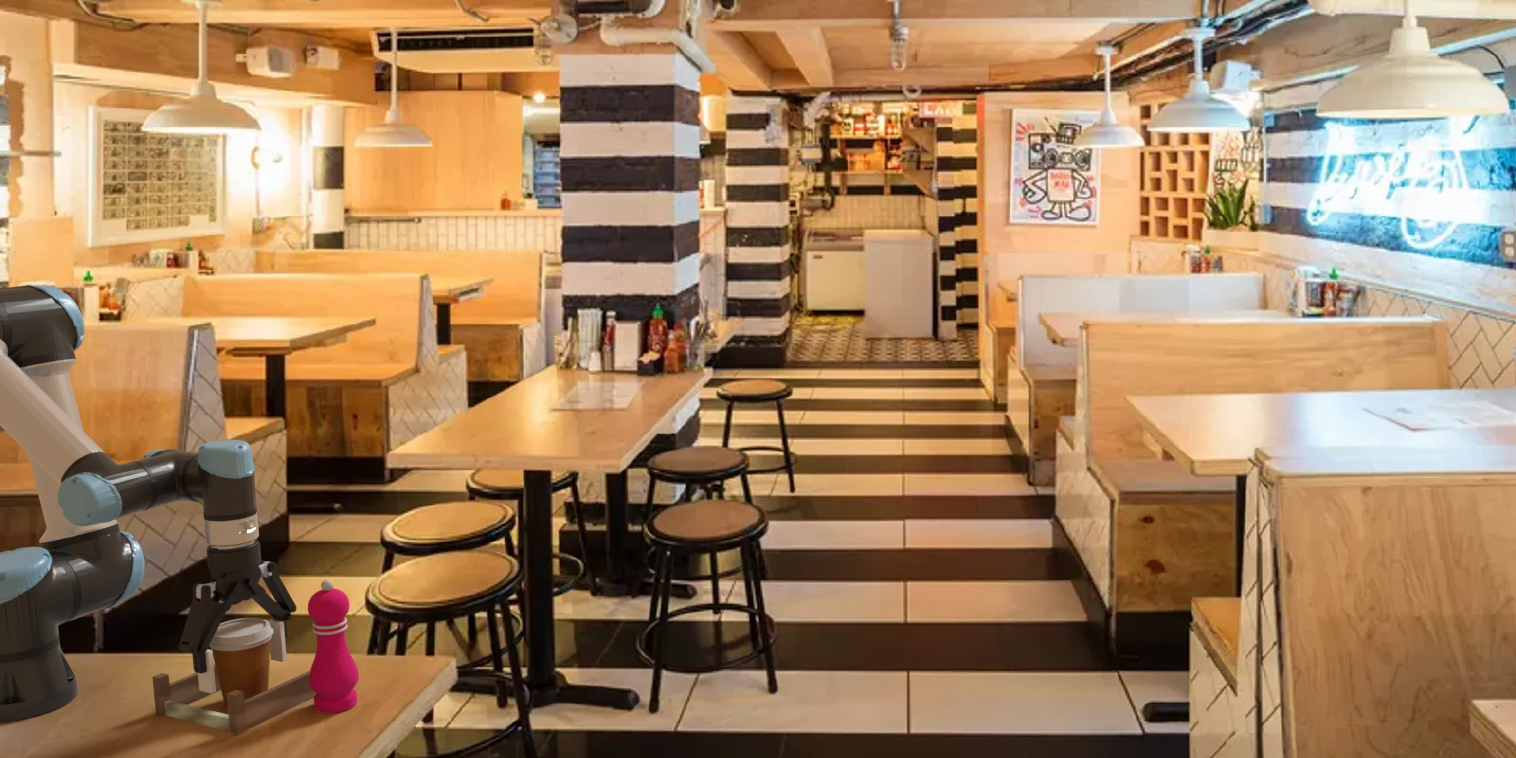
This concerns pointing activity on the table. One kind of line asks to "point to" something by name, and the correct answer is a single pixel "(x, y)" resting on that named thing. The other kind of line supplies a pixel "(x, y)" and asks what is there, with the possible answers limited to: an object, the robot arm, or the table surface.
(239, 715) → the bay
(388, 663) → the table surface
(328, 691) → the pepper mill
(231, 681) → the disposable coffee cup
